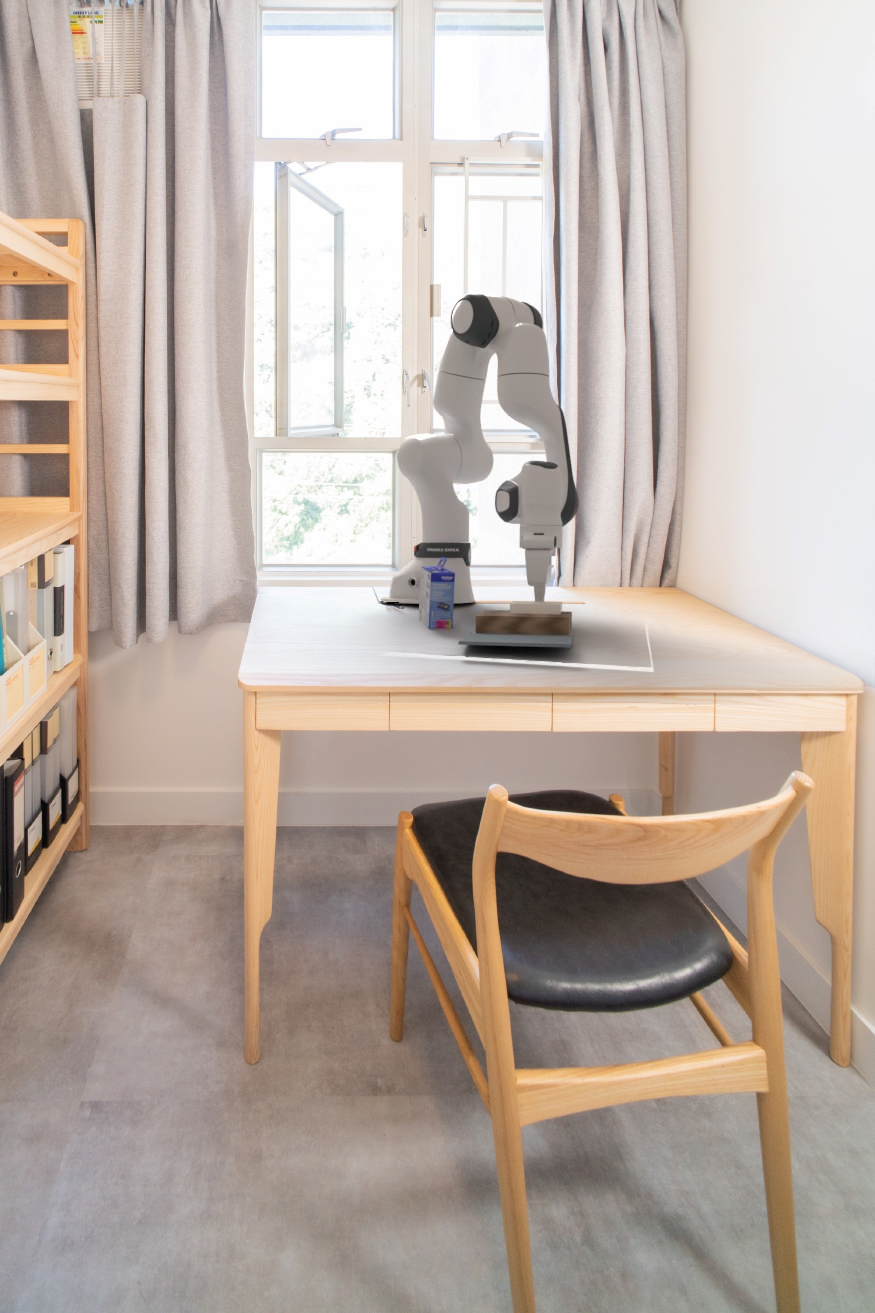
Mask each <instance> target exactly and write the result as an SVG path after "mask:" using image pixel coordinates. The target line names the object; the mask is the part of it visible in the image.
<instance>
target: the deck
mask: <svg viewBox="0 0 875 1313" xmlns="http://www.w3.org/2000/svg"><path fill="white" fill-rule="evenodd" d="M572 621H573V611H564V610H562V613H561V614H512V613H510V609H508V610H507V609H506V610H505V609H504V610H503V609H500V610H499V609H484V610H482V611H480V612H479V613H478V614H476V615H475V632H474V633H498V634H540V635H572V634H571V633H572V626H573V624H572V623H573V622H572Z"/></svg>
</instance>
